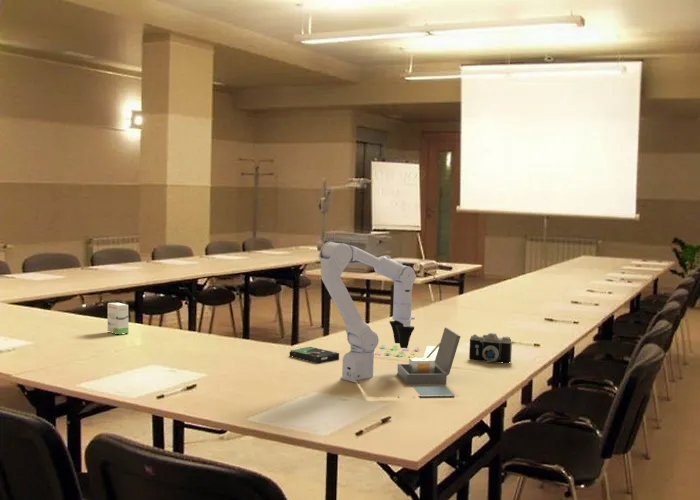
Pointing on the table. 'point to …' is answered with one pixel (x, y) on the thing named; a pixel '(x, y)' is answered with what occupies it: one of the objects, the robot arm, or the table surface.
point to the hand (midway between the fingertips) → (401, 345)
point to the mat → (433, 391)
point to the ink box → (118, 318)
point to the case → (441, 362)
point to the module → (421, 366)
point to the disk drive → (315, 354)
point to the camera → (490, 348)
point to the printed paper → (427, 352)
